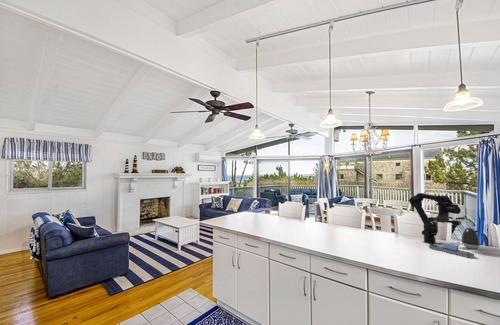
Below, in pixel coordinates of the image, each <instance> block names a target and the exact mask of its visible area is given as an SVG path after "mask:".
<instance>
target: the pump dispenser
mask: <svg viewBox="0 0 500 325" xmlns="http://www.w3.org/2000/svg"><path fill="white" fill-rule="evenodd" d="M479 232H480V230H475V229H474V228H471V227H466V228H465V229H464V230H463V232H462V234H461V243H462V245H463V246H464V247H465V248H467V249H472V250H476V249H479V248H480V246H481V242H480V238H479V236H478V233H479Z"/></svg>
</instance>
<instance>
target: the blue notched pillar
mask: <svg viewBox="0 0 500 325" xmlns="http://www.w3.org/2000/svg"><path fill="white" fill-rule="evenodd" d="M441 246H442V247H443V248H445V249H447V248H448V249H453V251H458V250H459V245H458V244H455V243H454V244H453V243H448V242H442V245H441Z"/></svg>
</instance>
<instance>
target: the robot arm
mask: <svg viewBox="0 0 500 325" xmlns="http://www.w3.org/2000/svg"><path fill="white" fill-rule="evenodd" d="M424 199H425V200H430V201H434V202H435V206H438V213H437V216H436V217H434V216H429V217H428V215H427V213H426V212H425V209H424V207H423V201H424ZM408 202H409V204H410V205H411V207H413V208H414V209H415V210H416V213H417V214H418V216H419V218H420V220H421V221H422V223H423V230H422V231H421V235H423V243H425V244H426V243H427V244H429V245H430V244H432V245H435V244H436V243H437V242H436V237H435V236H437V234H438V232H439V225H438V224H439V223H443V224H444V223H448V224H450V225H451V234H454V232H455V230H456V228H457V227H458V226H461V225H462V221H461V220H458V219H457V220H456V219H452V220H451V219H450V218H449V217H450V216H449V215H450V214H455V215H459V214H460V213H461V211H462V209H461V208H460V206H459V205H458V204H454V203H453V202H452V200H451V199H450V198H449V196H448V195H435V194H429V193H424V192H418V193H417V194H415V195H414V196H412V197H410V198H409V200H408Z"/></svg>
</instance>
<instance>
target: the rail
mask: <svg viewBox="0 0 500 325" xmlns="http://www.w3.org/2000/svg"><path fill="white" fill-rule="evenodd" d="M428 248H429V249H430V250H432V251H436V252H441V251H442V253H445V252H446V253H445V254H450V255H454V256H458V257H463V258H466V259H468V258H469V259H472V260H473V259H474V258H475V253H473V252H469V251H464V250H460V249H458V251H453V249H448V248H447V249H445V248H443V247H442V245H438V244H430V243H429V244H428Z"/></svg>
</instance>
